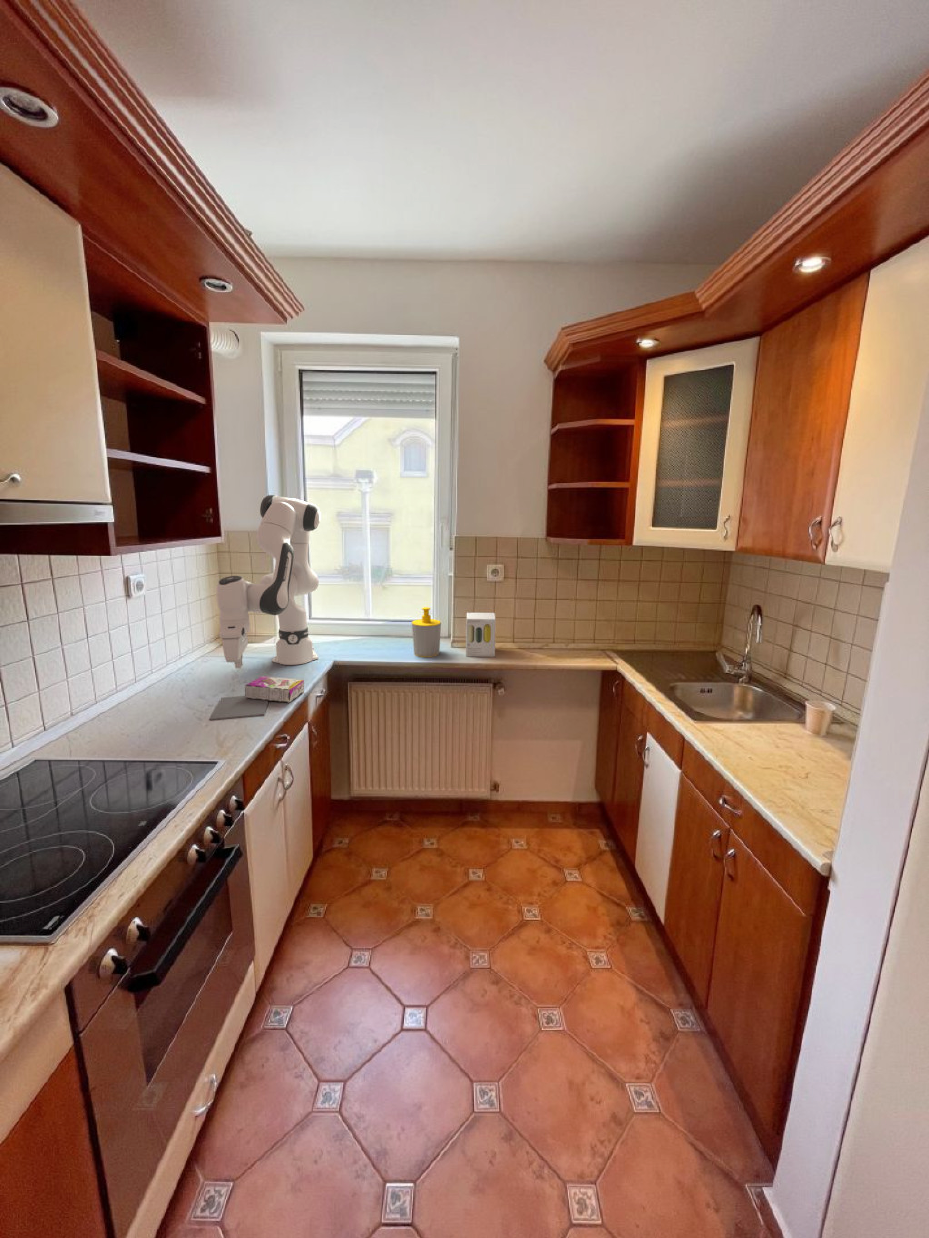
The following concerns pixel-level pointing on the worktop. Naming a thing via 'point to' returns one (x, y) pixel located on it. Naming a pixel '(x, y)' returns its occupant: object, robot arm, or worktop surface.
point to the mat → (239, 708)
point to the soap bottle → (426, 635)
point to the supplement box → (480, 634)
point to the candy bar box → (274, 689)
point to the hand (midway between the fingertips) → (239, 667)
